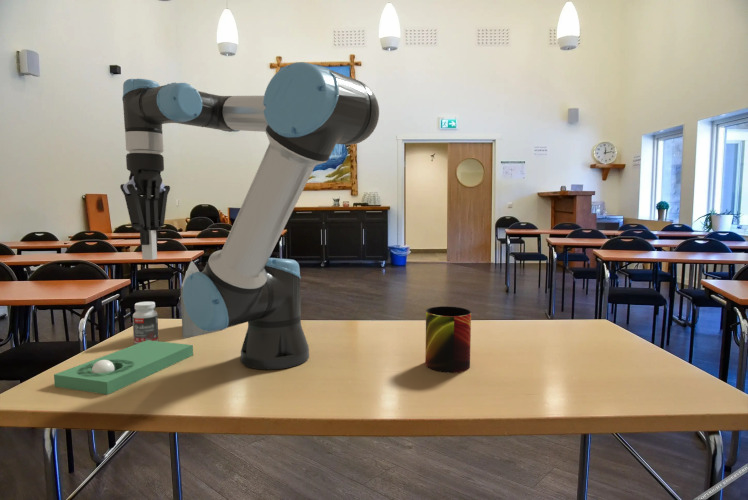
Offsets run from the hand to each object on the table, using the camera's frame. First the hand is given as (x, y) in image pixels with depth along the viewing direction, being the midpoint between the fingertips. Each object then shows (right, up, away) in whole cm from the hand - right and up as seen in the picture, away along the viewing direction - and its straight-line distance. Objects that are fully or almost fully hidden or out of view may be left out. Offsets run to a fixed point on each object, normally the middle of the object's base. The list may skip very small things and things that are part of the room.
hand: (149, 258), depth 109 cm
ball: (-3, -22, -13) cm, 26 cm away
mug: (+67, -23, -2) cm, 71 cm away
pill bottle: (-7, -22, +14) cm, 26 cm away
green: (-1, -23, -7) cm, 24 cm away
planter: (+5, -20, +24) cm, 32 cm away
